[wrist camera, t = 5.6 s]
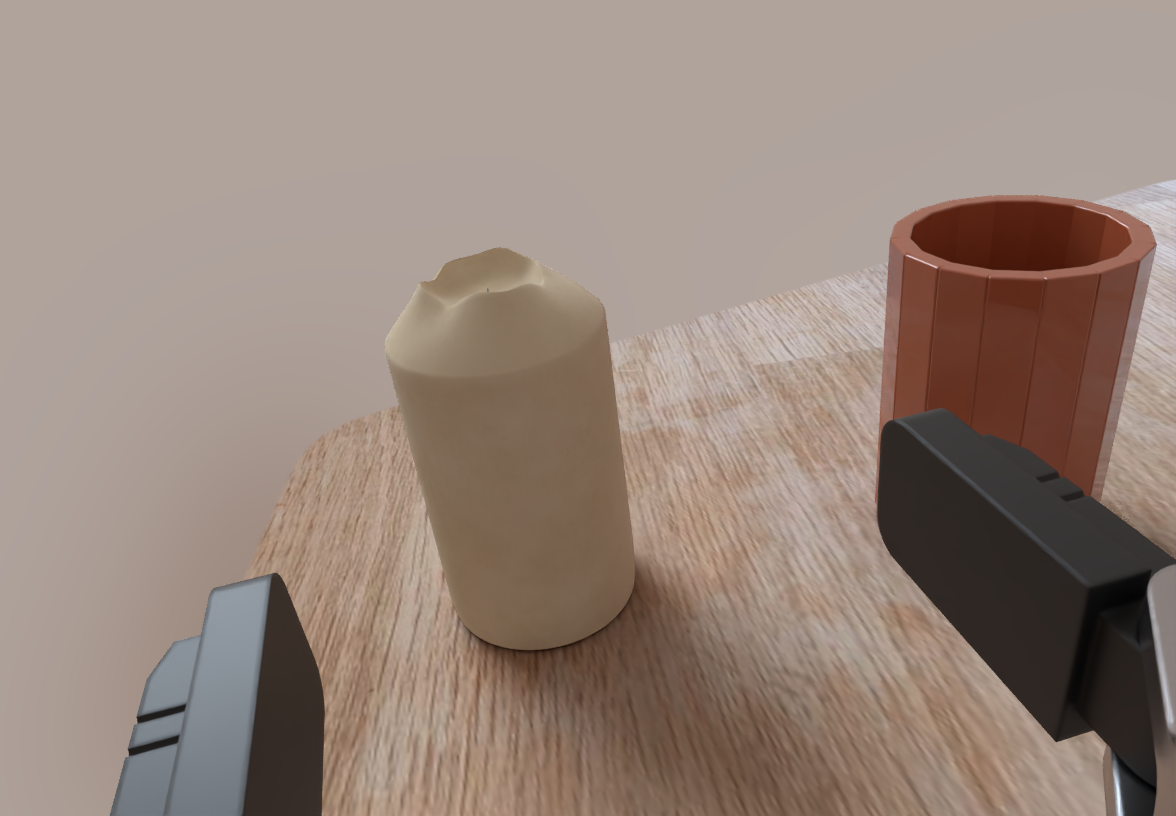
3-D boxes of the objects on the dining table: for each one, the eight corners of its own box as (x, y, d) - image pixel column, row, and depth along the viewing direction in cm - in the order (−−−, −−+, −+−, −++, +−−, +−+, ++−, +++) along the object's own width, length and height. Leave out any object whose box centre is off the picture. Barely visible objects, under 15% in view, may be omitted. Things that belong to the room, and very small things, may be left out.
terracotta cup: (910, 597, 23) (937, 291, 19) (853, 475, 28) (864, 209, 24) (1131, 577, 23) (1211, 260, 19) (1034, 457, 28) (1079, 184, 24)
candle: (659, 625, 24) (623, 287, 19) (460, 674, 23) (367, 337, 18) (613, 510, 28) (574, 215, 23) (447, 547, 28) (370, 253, 23)
